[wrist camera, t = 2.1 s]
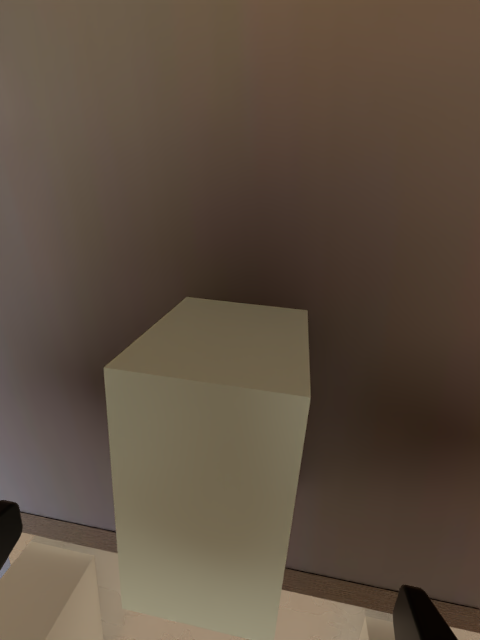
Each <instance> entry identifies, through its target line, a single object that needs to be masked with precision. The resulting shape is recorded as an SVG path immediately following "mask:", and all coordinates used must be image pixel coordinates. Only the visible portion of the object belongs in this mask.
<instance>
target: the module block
mask: <svg viewBox="0 0 480 640" xmlns="http://www.w3.org/2000/svg"><path fill="white" fill-rule="evenodd" d="M104 380H105V393H106V407H107V420H108V433H109V446H110V459H111V472H112V485H113V498H114V511H115V524H116V537H117V550H118V563H119V577H120V590H121V603H122V609H126V610H130V611H135V612H139V613H143V614H147V615H151V616H155V617H159V618H163V619H167V620H171V621H176V622H180V623H184V624H188V625H192V626H196V627H200V628H204V629H208V630H212V631H217V632H221V633H225V634H229V635H233V636H237V637H241V638H245V639H249V640H274V636H275V630H276V623H277V616H278V610H279V603H280V597H281V590H282V583H283V577H284V570H285V564H286V557H287V551H288V544H289V537H290V531H291V524H292V518H293V511H294V504H295V498H296V491H297V485H298V478H299V472H300V465H301V458H302V452H303V445H304V439H305V432H306V425H307V419H308V412H309V406H310V399H311V391H310V364H309V337H308V310H301V309H292V308H283V307H273V306H264V305H255V304H246V303H237V302H228V301H219V300H210V299H201V298H192V297H186V298H185V299H184V300H183V301H181V302H180V303H179V304H178V305H177V306H175V307H174V308H173V309H172V310H171V311H170V312H168V313H167V314H166V315H165V316H164V317H163V318H161V319H160V320H159V321H158V322H157V323H155V324H154V325H153V326H152V327H151V328H150V329H148V330H147V331H146V332H145V333H144V334H142V335H141V336H140V337H139V338H138V339H137V340H135V341H134V342H133V343H132V344H131V345H130V346H128V347H127V348H126V349H125V350H124V351H122V352H121V353H120V354H119V355H118V356H117V357H115V358H114V359H113V360H112V361H111V362H109V363H108V364H107V365H106V366H105V367H104Z"/></svg>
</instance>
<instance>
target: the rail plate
mask: <svg viewBox="0 0 480 640" xmlns="http://www.w3.org/2000/svg"><path fill="white" fill-rule="evenodd" d="M20 514H21V519H22V524H23V530H22V534H21V536H20V538H19V540H18V542H17V543H16V545H15V547H14V548H13V550H12V552H11V553H10V555H9V559H10V563H11V565H12V564H13V563H14V561H15V560H16V559H17V558H18V556H19V555H20V554H21V553H22V551H23V550H24V549H25V547H26V546H27V545H28V544H29V542H30V541H32V542H36V543H41V544H45V545H50V546H54V547H59V548H63V549H68V550H72V551H77V552H81V553H86V554H90V555H94V557H95V567H96V576H97V585H98V594H99V604H100V613H101V622H102V631H103V640H249V639H245V638H241V637H237V636H233V635H229V634H225V633H221V632H217V631H212V630H208V629H204V628H200V627H196V626H192V625H188V624H184V623H180V622H176V621H171V620H167V619H163V618H159V617H155V616H151V615H147V614H143V613H139V612H135V611H130V610H126V609H122V603H121V590H120V577H119V563H118V550H117V537H116V533H115V532H110V531H106V530H101V529H96V528H92V527H87V526H82V525H77V524H73V523H68V522H63V521H59V520H54V519H49V518H44V517H40V516H35V515H30V514H26V513H21V512H20ZM397 596H398V592H394V591H389V590H384V589H379V588H375V587H370V586H365V585H361V584H356V583H351V582H346V581H342V580H337V579H332V578H327V577H323V576H318V575H313V574H309V573H304V572H299V571H294V570H290V569H285V570H284V577H283V583H282V590H281V597H280V603H279V610H278V616H277V623H276V630H275V636H274V640H359V637H360V634H361V630H362V627H363V623H364V619H365V616H368V617H372V618H377V619H381V620H385V621H390V622H393V609H394V606H395V602H396V599H397ZM431 601H432V602H433V604H434V605H435V607H436V608H437V610H438V611H439V613H440V614H441V615H442V617H443V618H444V620H445V621H446V623H447V624H448V626H449V627H450V628H451V630H452V631H453V633H454V634H455V636H456V637H457V639H458V640H480V610H478V609H474V608H469V607H464V606H460V605H455V604H450V603H445V602H441V601H436V600H431Z"/></svg>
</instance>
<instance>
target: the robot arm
mask: <svg viewBox="0 0 480 640" xmlns="http://www.w3.org/2000/svg"><path fill="white" fill-rule="evenodd" d="M22 530H23V524H22V519H21V514H20V509H19V505H18V504H17V503H15V502H11V501H6V500H1V501H0V570H1V568H2V567H3V565H4V563H5V562H6V560H7V558H8V557H9V555H10V553H11V552H12V550H13V548H14V547H15V545H16V543H17V542H18V540H19V538H20V536H21V534H22ZM393 627H394V635H395V640H458V639H457V637H456V636H455V634H454V633H453V631H452V630H451V628H450V627H449V626H448V624H447V623H446V621H445V620H444V618H443V617H442V615H441V614H440V613H439V611H438V610H437V608H436V607H435V605H434V604H433V602H432V601H431V599H430V598H429V597H428V595H427V594H426V592H425V591H424V590H422V589H421V588H418V587H413V586H409V585H402V586H401V587H400V590H399V593H398V596H397V599H396V602H395V606H394V609H393Z"/></svg>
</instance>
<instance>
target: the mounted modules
mask: <svg viewBox="0 0 480 640" xmlns="http://www.w3.org/2000/svg"><path fill="white" fill-rule="evenodd" d="M0 640H103V631H102V622H101V613H100V604H99V594H98V585H97V576H96V567H95V557H94V555H90V554H86V553H81V552H77V551H72V550H68V549H63V548H59V547H54V546H50V545H45V544H41V543H36V542H32V541H30V542H29V544H28V545H27V546H26V547H25V549H24V550H23V551H22V553H21V554H20V555H19V556H18V558H17V559H16V560H15V561H14V563H13V564H12V565H11V566H10V568H9V569H8V570H7V571H6V573H5V574H4V575H3V576H2V578H1V579H0ZM359 640H395V635H394V627H393V622H390V621H385V620H381V619H377V618H372V617H368V616H365V619H364V623H363V627H362V630H361V634H360V637H359Z"/></svg>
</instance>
